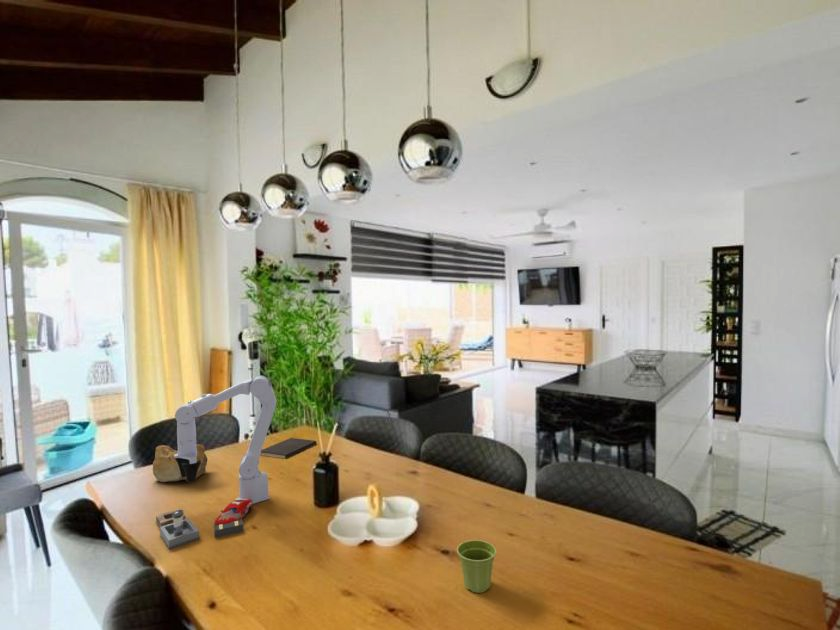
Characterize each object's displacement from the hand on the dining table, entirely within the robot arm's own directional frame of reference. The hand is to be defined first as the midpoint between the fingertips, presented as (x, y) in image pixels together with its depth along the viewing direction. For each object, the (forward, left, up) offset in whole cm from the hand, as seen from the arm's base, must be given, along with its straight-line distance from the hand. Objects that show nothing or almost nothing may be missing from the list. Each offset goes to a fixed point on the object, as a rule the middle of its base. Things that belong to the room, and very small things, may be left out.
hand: (188, 479), depth 153 cm
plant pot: (-39, +96, -11) cm, 104 cm away
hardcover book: (-54, -37, -11) cm, 66 cm away
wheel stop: (-4, +26, -11) cm, 29 cm away
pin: (+8, +18, -10) cm, 22 cm away
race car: (-9, +18, -11) cm, 23 cm away
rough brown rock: (-8, -33, -11) cm, 36 cm away
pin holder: (+7, +6, -10) cm, 14 cm away
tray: (+8, +19, -10) cm, 23 cm away
